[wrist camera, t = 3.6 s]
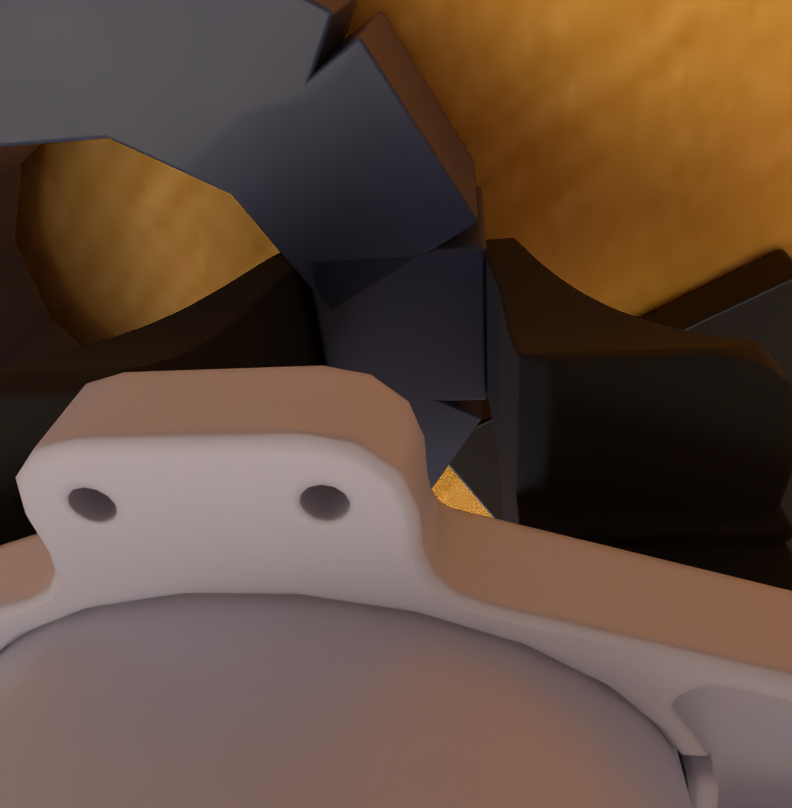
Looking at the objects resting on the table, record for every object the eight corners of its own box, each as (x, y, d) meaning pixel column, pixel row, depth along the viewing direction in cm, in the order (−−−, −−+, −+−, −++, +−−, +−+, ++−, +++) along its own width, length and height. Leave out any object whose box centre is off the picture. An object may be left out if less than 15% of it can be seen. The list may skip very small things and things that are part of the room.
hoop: (195, 542, 20) (159, 627, 18) (-243, 192, 14) (-387, 250, 12) (590, 350, 15) (615, 434, 12) (160, -351, 9) (47, -451, 6)
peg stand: (580, 596, 22) (611, 776, 17) (432, 417, 17) (421, 593, 13) (880, 500, 18) (1019, 697, 13) (781, 245, 14) (935, 407, 9)
